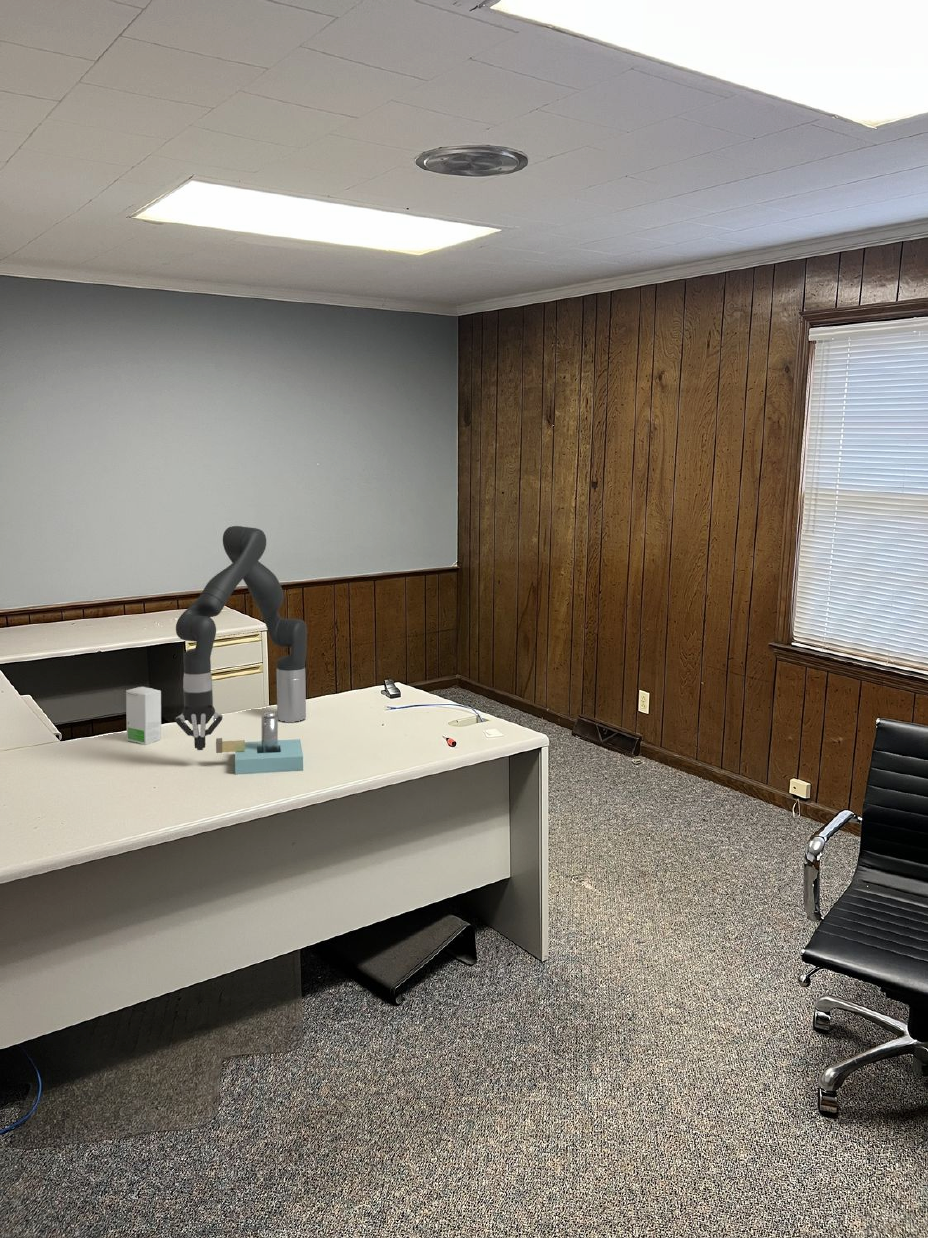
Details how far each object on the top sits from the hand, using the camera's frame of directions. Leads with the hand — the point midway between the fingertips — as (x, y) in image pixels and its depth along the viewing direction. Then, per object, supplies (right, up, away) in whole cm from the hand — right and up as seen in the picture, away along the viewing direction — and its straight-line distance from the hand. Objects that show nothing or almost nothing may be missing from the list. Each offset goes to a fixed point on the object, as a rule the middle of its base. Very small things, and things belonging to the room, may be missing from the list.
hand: (200, 749), depth 248 cm
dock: (+18, -4, +5) cm, 19 cm away
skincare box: (-23, -1, +24) cm, 33 cm away
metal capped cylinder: (+18, -3, +5) cm, 19 cm away
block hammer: (+9, -1, +2) cm, 9 cm away
